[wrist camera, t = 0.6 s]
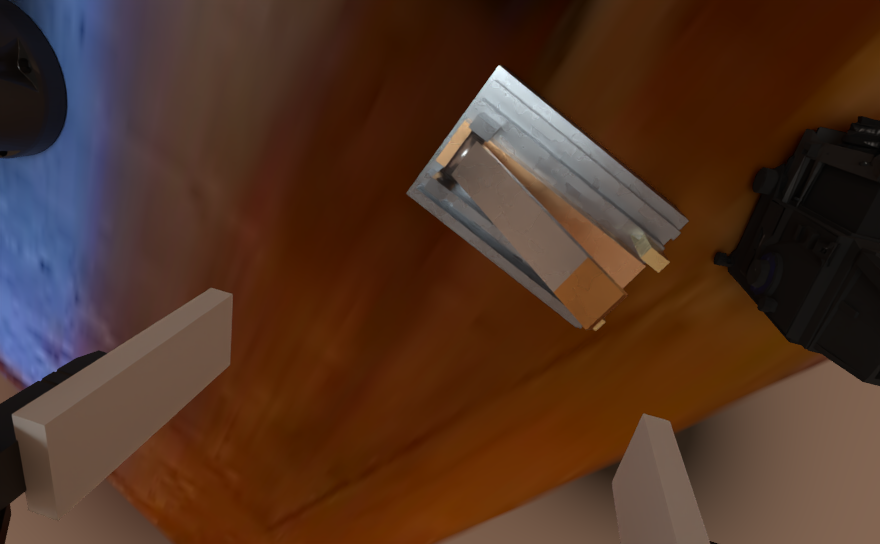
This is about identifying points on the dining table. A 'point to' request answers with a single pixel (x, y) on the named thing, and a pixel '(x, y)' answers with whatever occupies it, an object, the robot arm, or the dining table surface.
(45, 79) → the robot arm
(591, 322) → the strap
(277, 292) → the dining table surface
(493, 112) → the heatsink block
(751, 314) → the dining table surface
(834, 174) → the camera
